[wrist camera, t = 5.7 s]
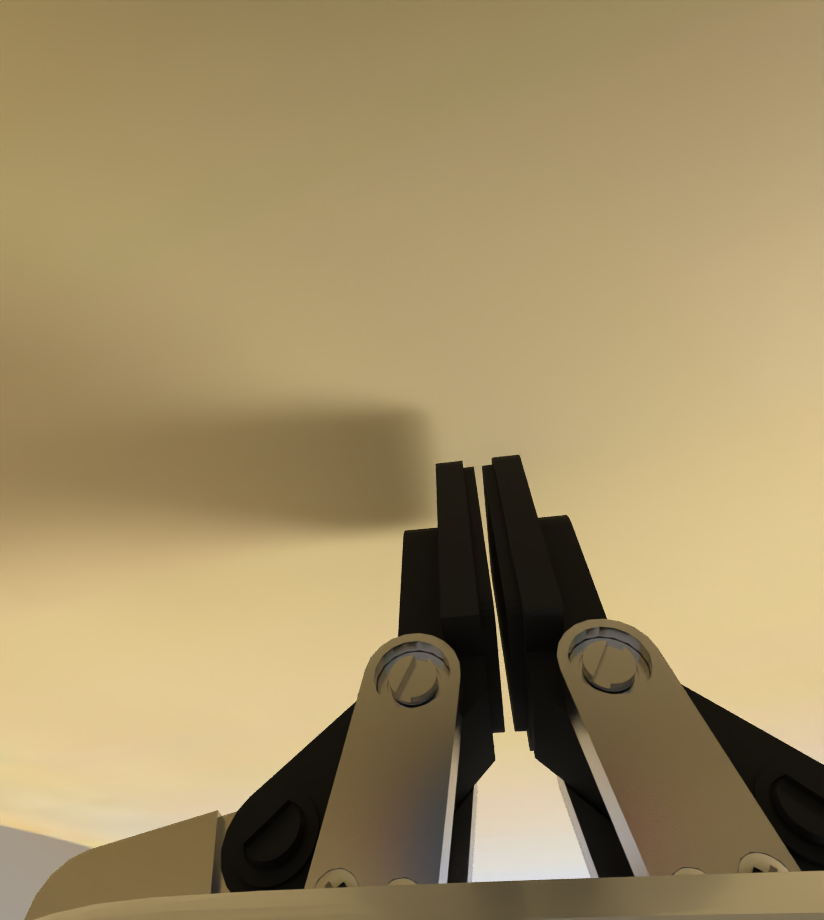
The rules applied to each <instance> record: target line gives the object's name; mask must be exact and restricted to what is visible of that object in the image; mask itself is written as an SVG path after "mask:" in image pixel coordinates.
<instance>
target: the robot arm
mask: <svg viewBox="0 0 824 920" xmlns="http://www.w3.org/2000/svg"><path fill="white" fill-rule="evenodd" d="M482 472H483V484H484V496H485V507H486V519H487V531H488V542H489V554H490V565H491V574H492V582H493V589H494V596H495V602H496V609H497V616H498V622H499V629H500V636H501V643H502V649H503V656H504V663H505V669H506V676H507V683H508V690H509V696H510V703H511V710H512V716H513V723H514V729H515V731H527V736H528V742H529V747H530V751H534V754H535V758H536V759H537V760H538V761H540V762H541V763H542V764H543V765H545V766H546V767H547V768H548V769H550V770H551V771H552V772H553V773H555V774H556V775H557V779H558V784H559V789H560V791H561V794H562V797H563V800H564V803H565V806H566V808H567V811H568V814H569V817H570V820H571V823H572V826H573V828H574V831H575V834H576V837H577V840H578V843H579V845H580V848H581V851H582V854H583V857H584V860H585V863H586V865H587V868H588V871H589V874H590V877H591V878H582V879H553V880H526V881H498V882H472V873H473V857H474V841H475V825H476V809H477V793H478V791H477V781H478V780H479V779H480V778H481V777H482V775H483V774H484V773H485V772H486V771H487V769H488V768H489V767H490V766H491V765H492V763H493V762H494V761H495V753H494V743H493V734H492V733H499V732H505V727H504V716H503V704H502V692H501V680H500V669H499V657H498V645H497V634H496V623H495V613H494V605H493V597H492V590H491V583H490V577H489V570H488V563H487V556H486V549H485V542H484V535H483V528H482V521H481V514H480V507H479V500H478V493H477V486H476V479H475V472H474V467H467V468H463V463H462V461H457V462H448V463H438V464H436V486H437V517H438V528H429V529H418V530H408V531H405V532H404V537H403V554H402V573H401V592H400V611H399V630H398V637H396V638H394V639H391V640H390V641H388V642H387V643H385V644H384V645H382V646H381V647H380V648H379V649H378V650H377V651H376V652H375V653H374V654H373V655H372V657H371V658H370V660H369V662H368V665H367V667H366V669H365V672H364V675H363V679H362V683H361V686H360V690H359V693H358V697H357V701H356V702H355V703H354V704H353V705H352V706H350V707H349V708H348V709H347V710H346V711H345V712H344V713H343V714H342V715H340V716H339V717H338V718H337V719H336V720H335V721H334V722H333V723H332V724H330V725H329V726H328V727H327V728H326V729H325V730H324V731H323V732H322V733H320V734H319V735H318V736H317V737H316V738H315V739H314V740H313V741H312V742H310V743H309V744H308V745H307V746H306V747H305V748H304V749H303V750H302V751H300V752H299V753H298V754H297V755H296V756H295V757H294V758H293V759H292V760H290V761H289V762H288V763H287V764H286V765H285V766H284V767H283V768H282V769H280V770H279V771H278V772H277V773H276V774H275V775H274V776H273V777H272V778H270V779H269V780H268V781H267V782H266V783H265V784H264V785H263V786H262V787H260V788H259V789H258V790H257V791H256V792H255V793H254V794H253V795H252V796H250V797H249V799H248V800H247V801H246V802H245V803H244V804H243V805H242V807H241V808H240V809H239V810H238V811H237V812H234V813H230V814H227V815H224V816H221V814H220V813H219V811H218V810H217V811H214V812H210V813H207V814H204V815H201V816H197V817H194V818H191V819H188V820H184V821H181V822H178V823H175V824H171V825H168V826H165V827H161V828H158V829H155V830H152V831H148V832H145V833H142V834H139V835H135V836H132V837H129V838H126V839H122V840H119V841H116V842H113V843H109V844H106V845H103V846H99V847H96V848H93V849H90V850H87V851H86V852H83V853H81V854H79V855H77V856H75V857H73V858H71V859H70V860H68V861H67V862H66V863H65V864H64V865H62V866H61V867H60V868H59V869H58V870H56V871H55V872H54V873H53V874H52V875H51V876H50V877H49V879H48V880H47V881H46V883H45V884H44V885H43V886H42V888H41V889H40V890H39V892H38V893H37V894H36V896H35V898H34V900H33V902H32V904H31V907H30V908H29V911H28V913H27V915H26V917H25V920H824V765H823V764H821V763H819V762H818V761H816V760H814V759H812V758H811V757H809V756H807V755H805V754H803V753H802V752H800V751H798V750H796V749H795V748H793V747H791V746H789V745H788V744H786V743H784V742H782V741H780V740H779V739H777V738H775V737H773V736H772V735H770V734H768V733H766V732H765V731H763V730H761V729H759V728H757V727H756V726H754V725H752V724H750V723H749V722H747V721H745V720H743V719H742V718H740V717H738V716H736V715H735V714H733V713H731V712H729V711H727V710H726V709H724V708H722V707H720V706H719V705H717V704H715V703H713V702H712V701H710V700H708V699H706V698H704V697H703V696H701V695H699V694H697V693H696V692H694V691H692V690H690V689H689V688H687V687H685V686H683V685H682V684H681V683H680V682H679V680H678V679H677V677H676V676H675V674H674V672H673V671H672V669H671V668H670V666H669V665H668V663H667V662H666V660H665V658H664V657H663V655H662V654H661V652H660V651H659V649H658V648H657V647H656V646H655V644H654V643H653V642H652V641H651V640H650V639H649V637H648V636H646V635H645V634H643V633H642V632H640V631H639V630H638V629H636V628H635V627H632V626H630V625H627V624H625V623H622V622H620V621H615V620H608V619H607V618H606V615H605V612H604V610H603V607H602V604H601V601H600V599H599V596H598V593H597V591H596V588H595V585H594V583H593V580H592V577H591V575H590V572H589V569H588V566H587V564H586V561H585V558H584V556H583V553H582V550H581V548H580V545H579V542H578V539H577V537H576V534H575V531H574V529H573V526H572V523H571V521H570V519H569V517H568V516H567V515H562V516H552V517H542V518H538V517H537V513H536V510H535V506H534V503H533V500H532V496H531V493H530V489H529V486H528V482H527V479H526V475H525V472H524V469H523V465H522V462H521V458H520V455H512V456H503V457H494V458H492V465H486V466H482Z"/></svg>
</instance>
